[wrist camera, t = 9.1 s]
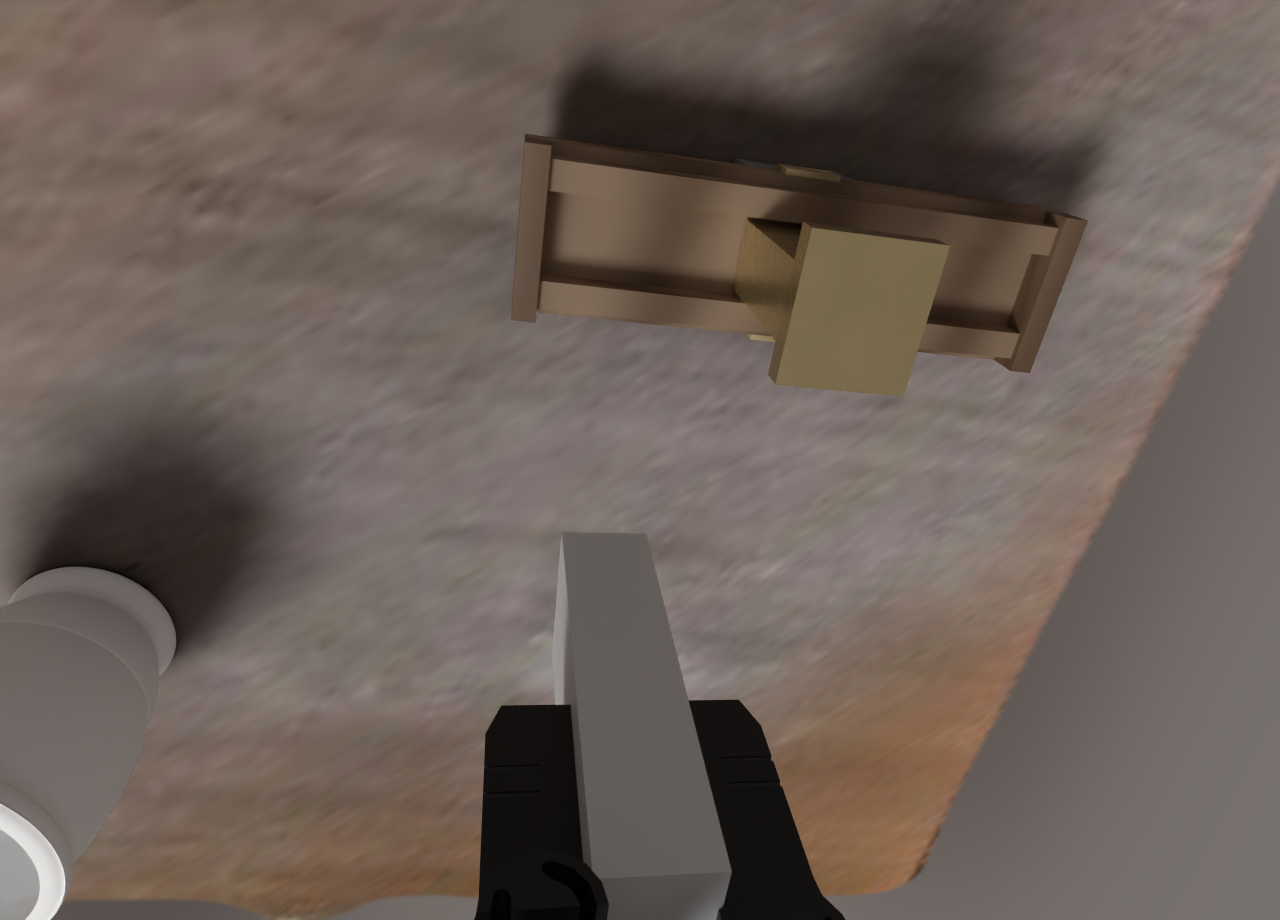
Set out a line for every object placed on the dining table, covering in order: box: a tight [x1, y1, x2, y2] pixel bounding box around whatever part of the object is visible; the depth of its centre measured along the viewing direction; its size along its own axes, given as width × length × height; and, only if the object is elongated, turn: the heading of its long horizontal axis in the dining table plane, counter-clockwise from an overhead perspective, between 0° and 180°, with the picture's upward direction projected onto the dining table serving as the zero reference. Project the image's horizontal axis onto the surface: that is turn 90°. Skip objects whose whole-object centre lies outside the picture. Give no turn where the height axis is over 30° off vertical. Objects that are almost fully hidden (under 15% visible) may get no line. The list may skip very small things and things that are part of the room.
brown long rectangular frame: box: [511, 134, 1087, 373], centre depth 37 cm, size 24×8×6 cm, turn 82°
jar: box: [0, 567, 176, 920], centre depth 38 cm, size 11×10×15 cm
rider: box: [733, 220, 950, 396], centre depth 32 cm, size 5×6×8 cm
